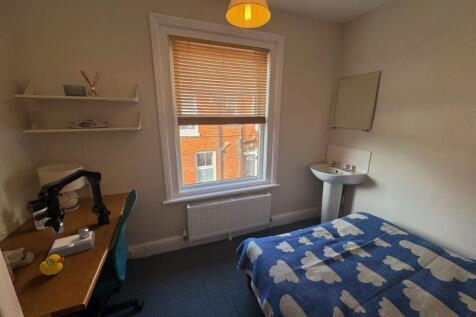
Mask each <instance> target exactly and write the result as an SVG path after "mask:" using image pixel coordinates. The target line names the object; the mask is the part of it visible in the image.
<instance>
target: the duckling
mask: <svg viewBox="0 0 476 317" xmlns="http://www.w3.org/2000/svg"><path fill="white" fill-rule="evenodd" d="M64 260H65V256H63V257H60V256H59V255H57V254H54V255H51V256H50V257H48V258H47V257H46V258H45V261H42V262H41V263H40V264H39V270H40V272H41V274H43V275H45V276H52V275H57V274H58V273H59V272H61V270H62V269H63V267H64V266H63V262H64Z"/></svg>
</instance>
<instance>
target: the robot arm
mask: <svg viewBox="0 0 476 317" xmlns="http://www.w3.org/2000/svg"><path fill="white" fill-rule="evenodd" d="M82 177H84V178H86V179H87V182H88V183H89V184H90V188H91V193H92V199H93V203H94V204H93V206H91V207H90V209H91V213H92V214H94V215H95V216H98V217H97V225H98V226H105V225H107V224H108V225H109V224H110V223H111V222H110V215H111V214H112V211H111V210H109V209H108V208H107V205H106V204H105V203H104V202H103V195H102V190H101V181H102V173H101V172H99V171H93V170H86V169H82V168H81V169H77V170H76V171H73V172H71V173H70V174H68V175H66V176H64V177H62V178H60V179H58V180H55V181H51V182H49V183H46V184H45V183H44V184H43V185H41V187H40V191H39V192H38V194H37V196H36V198H35V199H29V200H27V203H26V206H25V208H26V210H27V213H29V214H32V215H33V213H35V212H37V211H40V210H43V209H45V208H46V210H45V211H42V212H40V213H38V214H36V215H35V216H34V217H33V220H34V221H33V222H35V221H37V222H39V221H40V220H42V219H44V218H47V220H46V221H45V223H44V227H47V228H49V227H51V229H52V228H53V229H54V230H55V232H59V229H60V225H61V222H63V221H64V219H65V217H66V216H65V215H66V213H67V208H66V207H62V205H63V204H62V203H61V201H60V197H62V196H64V194H63V193H61V191H62V190H63V189H64V188H65V187H66V186H68V185H70V184H71V183H73V182H75V181H76V180H79V179H81V178H82ZM48 218H49V219H48ZM63 223H64V222H63Z"/></svg>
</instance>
